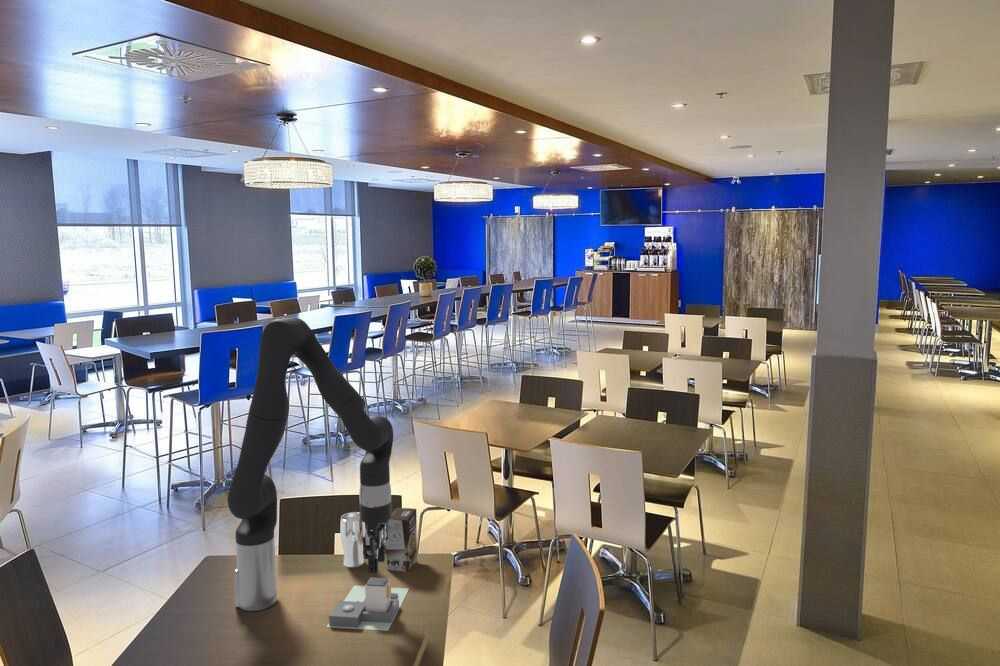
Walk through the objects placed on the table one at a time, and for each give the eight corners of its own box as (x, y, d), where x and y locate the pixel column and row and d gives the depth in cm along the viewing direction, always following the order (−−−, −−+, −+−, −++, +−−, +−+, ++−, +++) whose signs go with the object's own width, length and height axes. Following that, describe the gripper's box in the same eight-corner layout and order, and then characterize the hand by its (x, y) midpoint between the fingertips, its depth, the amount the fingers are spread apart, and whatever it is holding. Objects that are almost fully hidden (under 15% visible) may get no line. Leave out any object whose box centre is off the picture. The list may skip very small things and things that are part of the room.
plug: (366, 617, 161) (365, 584, 161) (371, 608, 165) (370, 576, 164) (388, 618, 161) (387, 586, 160) (392, 609, 165) (392, 578, 164)
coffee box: (407, 576, 185) (406, 520, 183) (385, 573, 186) (384, 518, 184) (418, 561, 194) (417, 508, 192) (397, 559, 195) (396, 506, 193)
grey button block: (329, 625, 158) (328, 614, 157) (344, 602, 168) (344, 591, 168) (357, 627, 157) (357, 615, 157) (371, 604, 168) (371, 593, 167)
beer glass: (354, 558, 195) (353, 509, 194) (371, 565, 191) (370, 515, 190) (336, 567, 190) (334, 517, 188) (352, 574, 186) (351, 523, 184)
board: (326, 631, 158) (326, 618, 157) (354, 589, 177) (353, 578, 177) (388, 635, 156) (387, 622, 156) (409, 592, 176) (408, 581, 175)
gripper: (369, 488, 167) (370, 553, 169) (350, 510, 153) (352, 580, 155) (398, 490, 166) (399, 554, 168) (382, 511, 152) (383, 581, 154)
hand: (376, 566), depth 162 cm, fingers open, 5 cm apart
